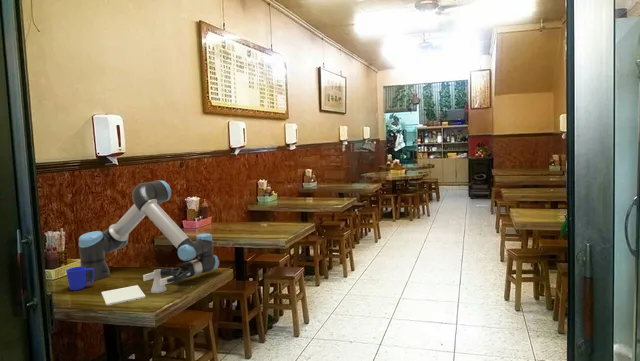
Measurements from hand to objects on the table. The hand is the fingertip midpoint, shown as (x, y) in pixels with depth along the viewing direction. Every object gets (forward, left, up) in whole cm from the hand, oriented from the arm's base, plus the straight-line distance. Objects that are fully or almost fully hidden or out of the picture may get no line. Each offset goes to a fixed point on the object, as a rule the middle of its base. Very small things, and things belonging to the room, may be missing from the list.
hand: (151, 280), depth 211 cm
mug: (-31, -27, -6) cm, 42 cm away
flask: (-1, +3, -6) cm, 7 cm away
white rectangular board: (-5, -12, -6) cm, 14 cm away
